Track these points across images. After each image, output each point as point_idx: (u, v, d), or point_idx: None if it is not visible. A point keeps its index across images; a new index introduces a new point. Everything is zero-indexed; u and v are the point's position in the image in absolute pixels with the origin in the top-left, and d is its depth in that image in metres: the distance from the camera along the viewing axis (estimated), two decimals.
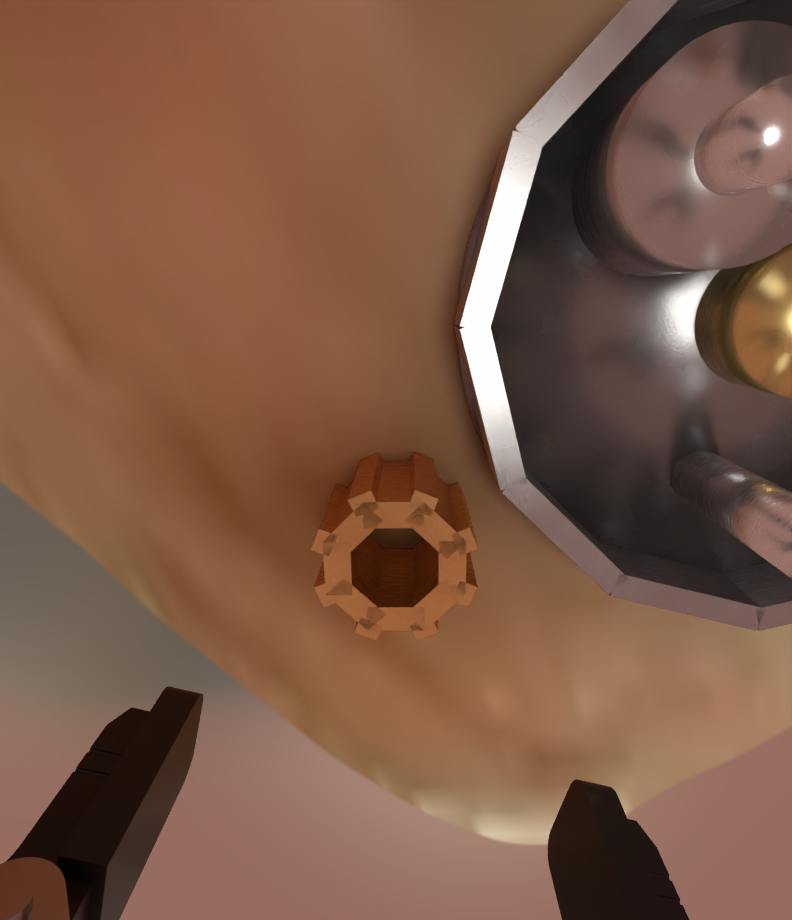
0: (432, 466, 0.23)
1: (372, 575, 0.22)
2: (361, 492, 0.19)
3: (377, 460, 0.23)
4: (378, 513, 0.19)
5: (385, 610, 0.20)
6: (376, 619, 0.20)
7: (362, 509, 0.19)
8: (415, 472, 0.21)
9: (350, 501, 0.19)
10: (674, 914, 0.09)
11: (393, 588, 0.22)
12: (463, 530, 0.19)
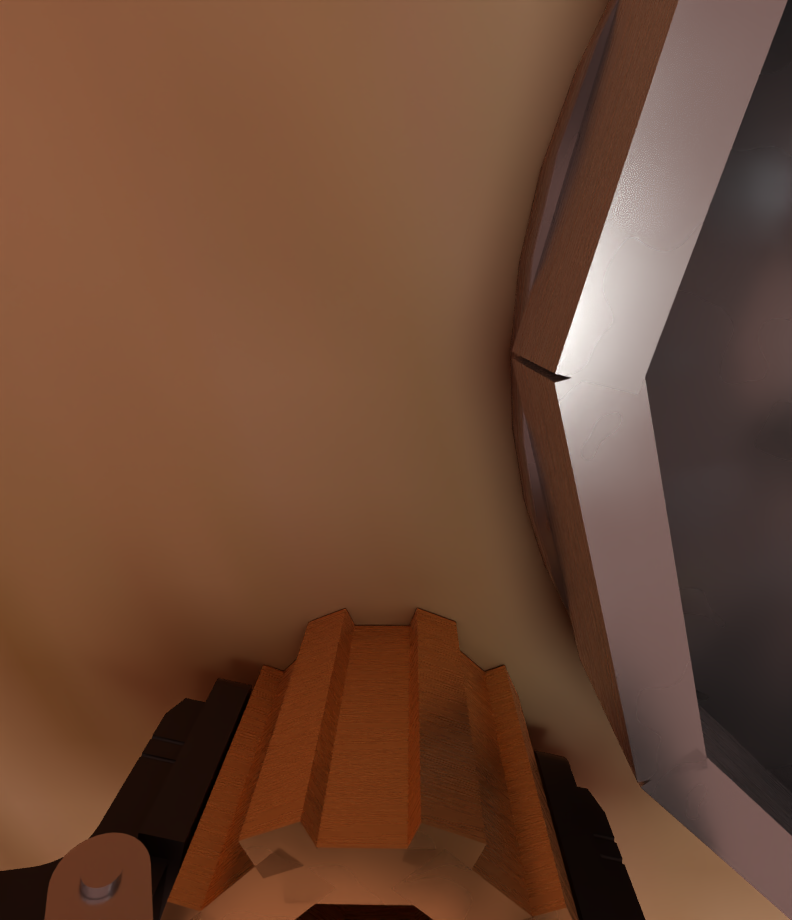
0: (456, 655, 0.11)
1: (324, 909, 0.10)
2: (277, 812, 0.07)
3: (338, 641, 0.11)
4: (322, 872, 0.07)
5: None
6: None
7: (279, 862, 0.07)
8: (420, 706, 0.09)
9: (245, 845, 0.07)
10: (615, 872, 0.10)
11: None
12: (549, 913, 0.07)
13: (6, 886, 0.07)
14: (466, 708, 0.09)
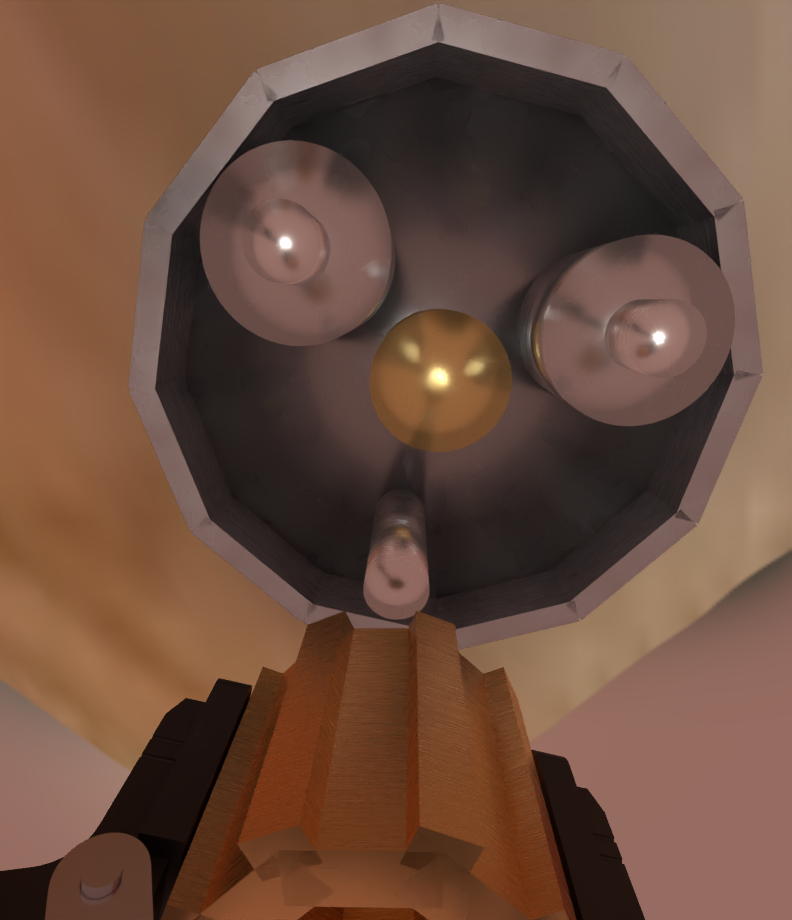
0: (455, 658, 0.11)
1: (323, 911, 0.10)
2: (277, 816, 0.07)
3: (337, 644, 0.11)
4: (321, 875, 0.07)
5: None
6: None
7: (278, 866, 0.07)
8: (419, 709, 0.09)
9: (244, 848, 0.07)
10: (615, 872, 0.10)
11: None
12: (548, 915, 0.07)
13: (6, 886, 0.07)
14: (465, 711, 0.09)
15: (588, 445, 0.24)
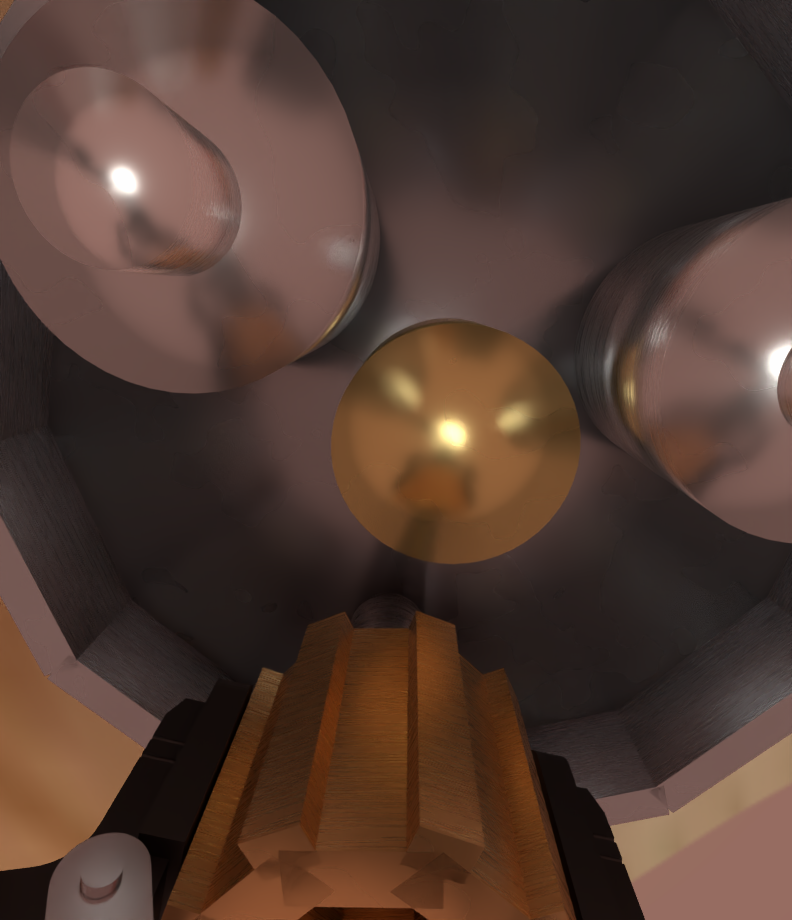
0: (455, 658, 0.11)
1: (324, 911, 0.10)
2: (277, 816, 0.07)
3: (338, 644, 0.11)
4: (321, 875, 0.07)
5: None
6: None
7: (278, 866, 0.07)
8: (419, 709, 0.09)
9: (244, 848, 0.07)
10: (615, 872, 0.10)
11: None
12: (548, 916, 0.07)
13: (6, 886, 0.07)
14: (465, 711, 0.09)
15: (681, 532, 0.15)
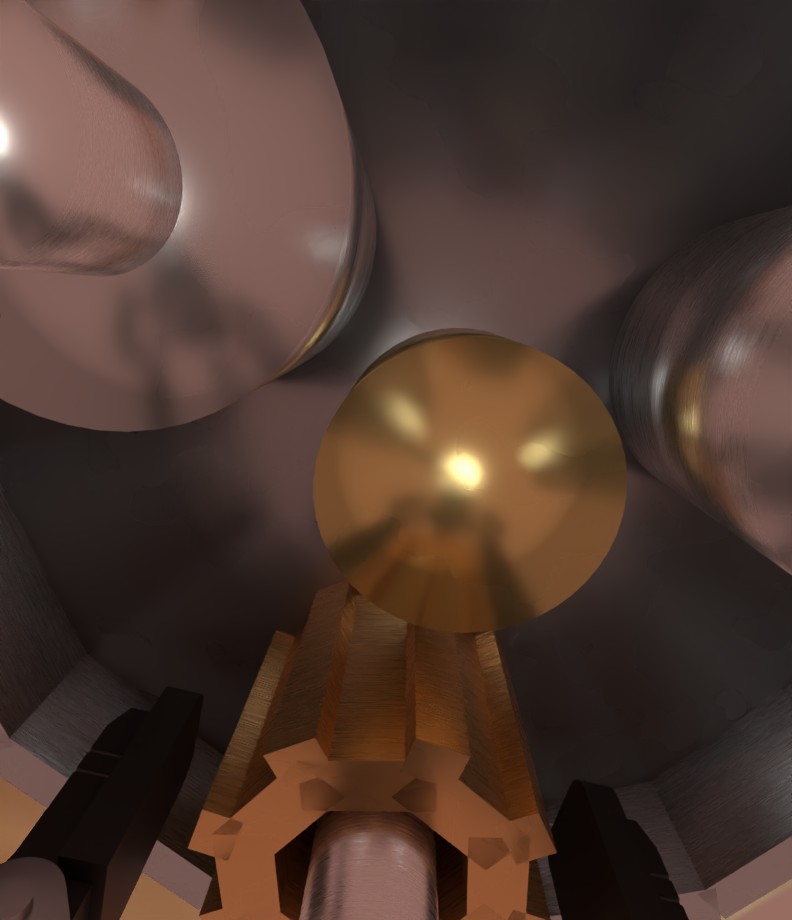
0: None
1: None
2: (295, 733, 0.09)
3: (344, 604, 0.12)
4: (333, 782, 0.09)
5: None
6: None
7: (297, 774, 0.08)
8: (416, 653, 0.10)
9: (269, 758, 0.08)
10: (674, 914, 0.09)
11: None
12: (524, 818, 0.09)
13: None
14: (456, 657, 0.11)
15: (732, 580, 0.13)
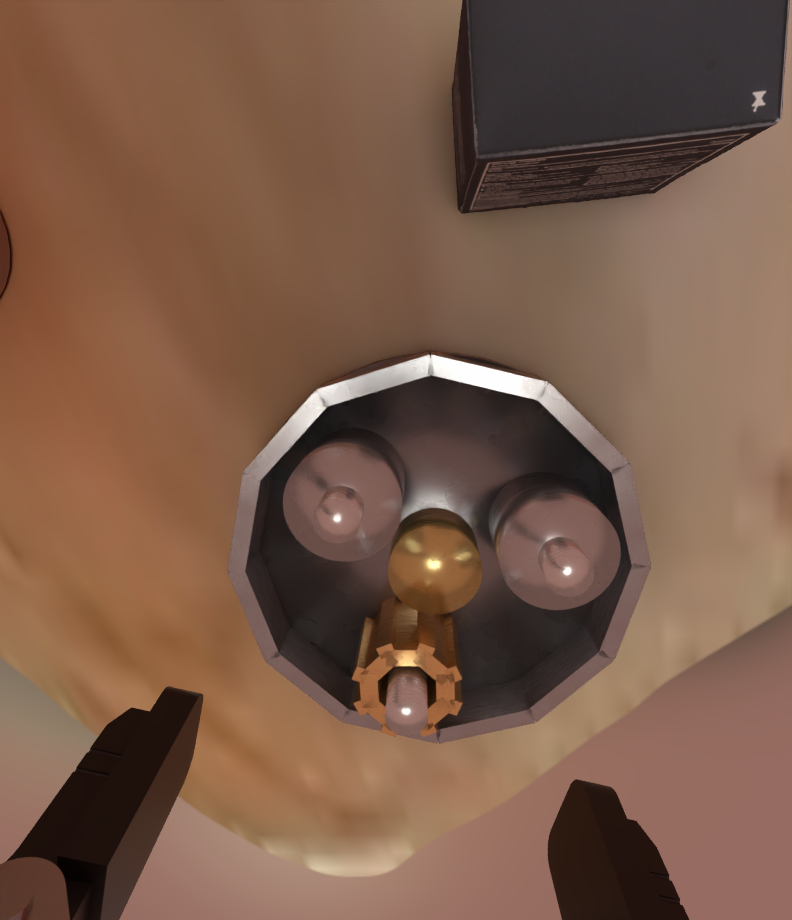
0: None
1: None
2: (384, 642, 0.29)
3: (394, 606, 0.33)
4: (396, 657, 0.29)
5: None
6: None
7: (385, 654, 0.29)
8: (420, 621, 0.31)
9: (377, 649, 0.29)
10: (674, 914, 0.09)
11: None
12: (452, 667, 0.29)
13: None
14: (434, 623, 0.31)
15: None
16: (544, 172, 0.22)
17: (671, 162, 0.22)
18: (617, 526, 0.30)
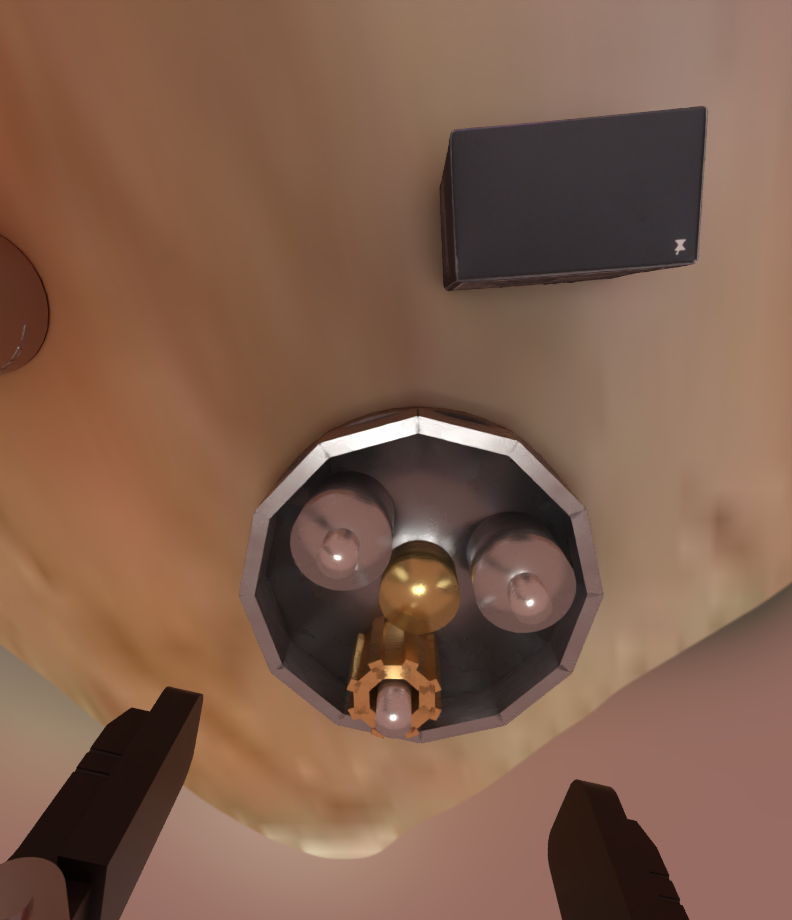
0: None
1: None
2: (375, 658, 0.34)
3: (383, 624, 0.38)
4: (385, 671, 0.34)
5: None
6: None
7: (376, 669, 0.34)
8: (406, 639, 0.36)
9: (369, 664, 0.34)
10: (674, 914, 0.09)
11: None
12: (432, 680, 0.34)
13: None
14: (418, 641, 0.36)
15: None
16: (513, 281, 0.26)
17: (618, 273, 0.27)
18: (576, 559, 0.35)
